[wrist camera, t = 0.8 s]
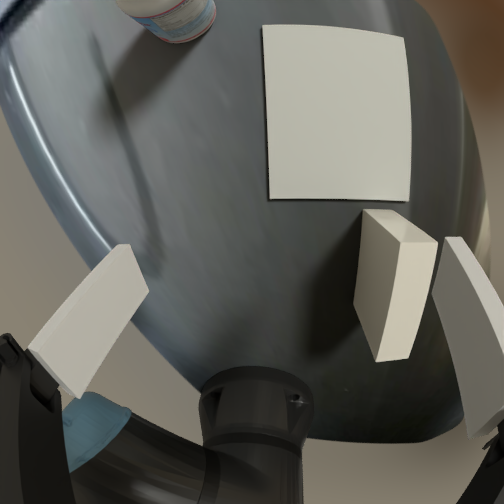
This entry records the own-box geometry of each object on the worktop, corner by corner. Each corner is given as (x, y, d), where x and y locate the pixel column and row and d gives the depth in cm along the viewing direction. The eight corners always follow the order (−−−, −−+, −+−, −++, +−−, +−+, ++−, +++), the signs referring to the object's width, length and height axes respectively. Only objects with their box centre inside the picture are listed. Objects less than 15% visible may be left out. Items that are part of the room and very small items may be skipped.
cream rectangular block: (379, 302, 28) (408, 358, 20) (353, 303, 29) (375, 362, 20) (392, 209, 25) (438, 242, 16) (362, 209, 25) (400, 242, 17)
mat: (406, 200, 24) (408, 201, 24) (269, 197, 25) (269, 198, 25) (401, 38, 18) (403, 37, 18) (262, 26, 19) (262, 25, 19)
